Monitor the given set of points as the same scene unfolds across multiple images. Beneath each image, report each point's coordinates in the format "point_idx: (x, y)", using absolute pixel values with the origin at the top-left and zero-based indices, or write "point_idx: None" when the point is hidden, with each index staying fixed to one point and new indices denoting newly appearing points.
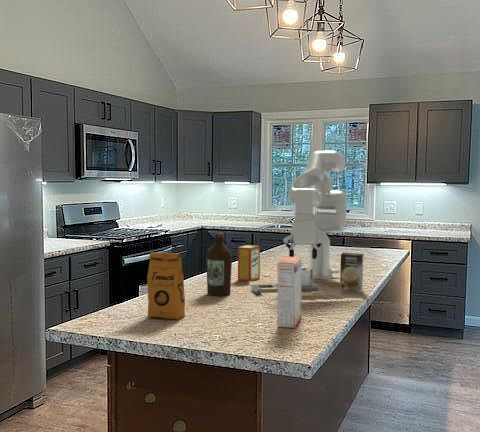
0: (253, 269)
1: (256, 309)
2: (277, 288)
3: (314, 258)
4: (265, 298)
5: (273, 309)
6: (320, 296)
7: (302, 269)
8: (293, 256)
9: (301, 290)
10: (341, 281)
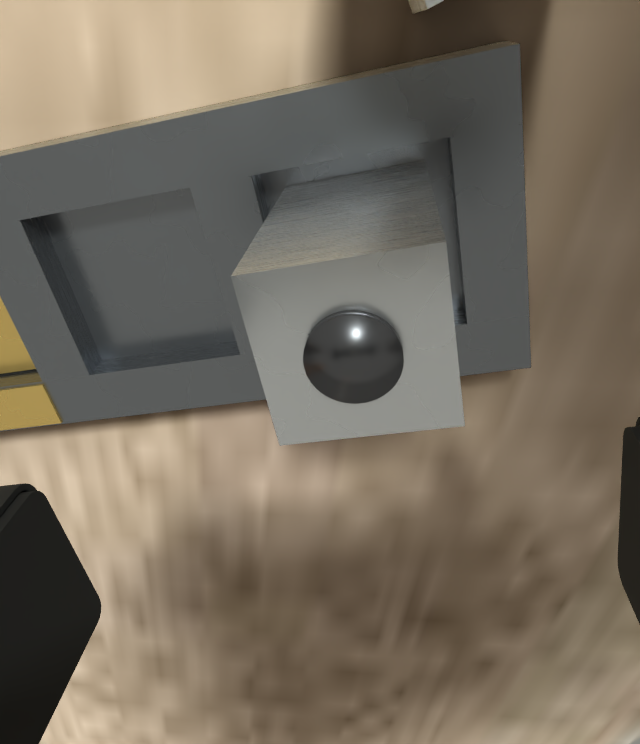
0: None
1: None
2: (73, 412)
3: (628, 578)
4: None
5: (129, 718)
6: (494, 466)
7: (334, 395)
8: (69, 667)
9: None
10: None
